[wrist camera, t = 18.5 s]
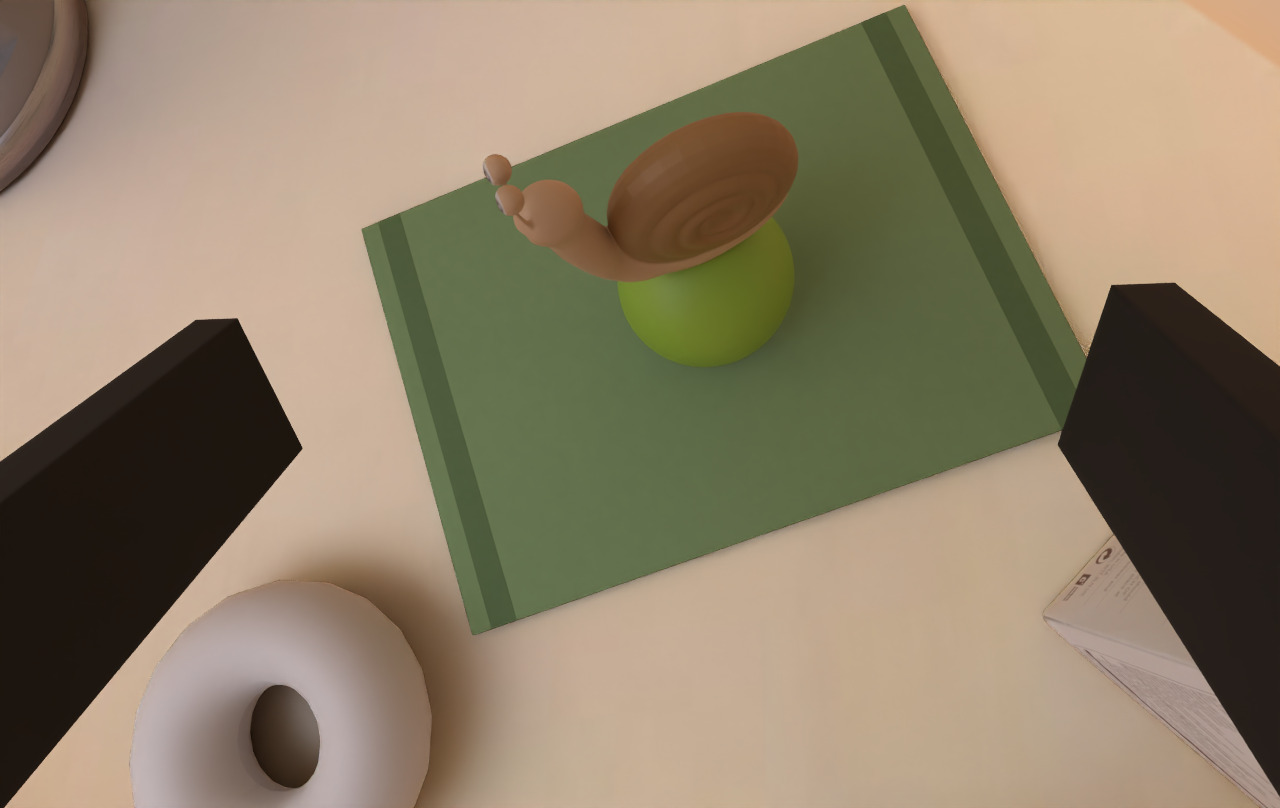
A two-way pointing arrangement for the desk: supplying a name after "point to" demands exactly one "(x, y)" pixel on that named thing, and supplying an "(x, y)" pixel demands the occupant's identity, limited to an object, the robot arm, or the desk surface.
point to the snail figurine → (681, 235)
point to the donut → (309, 663)
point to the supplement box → (1152, 664)
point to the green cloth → (740, 391)
